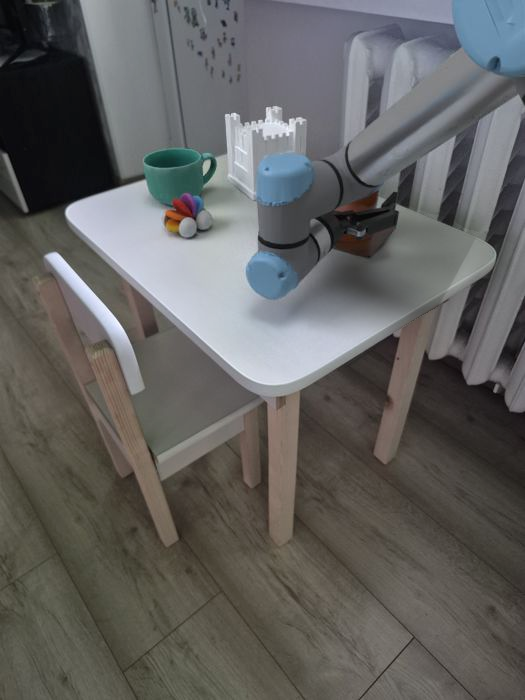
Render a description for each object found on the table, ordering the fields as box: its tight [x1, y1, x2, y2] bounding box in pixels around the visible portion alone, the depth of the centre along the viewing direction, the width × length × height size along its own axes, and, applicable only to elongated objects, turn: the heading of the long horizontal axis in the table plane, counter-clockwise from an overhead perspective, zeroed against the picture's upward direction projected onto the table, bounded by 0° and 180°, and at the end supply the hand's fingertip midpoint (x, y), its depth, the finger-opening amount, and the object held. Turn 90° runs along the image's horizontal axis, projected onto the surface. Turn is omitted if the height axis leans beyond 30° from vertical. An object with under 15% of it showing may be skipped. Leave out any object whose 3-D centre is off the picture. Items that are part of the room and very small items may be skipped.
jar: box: [334, 189, 380, 242], centre depth 91 cm, size 9×9×13 cm
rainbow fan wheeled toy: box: [161, 193, 214, 238], centre depth 96 cm, size 8×10×7 cm
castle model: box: [224, 105, 308, 201], centre depth 111 cm, size 14×14×15 cm
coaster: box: [332, 225, 397, 259], centre depth 96 cm, size 14×14×1 cm
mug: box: [142, 147, 218, 207], centre depth 107 cm, size 17×13×10 cm
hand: (361, 191), depth 93 cm, fingers open, 13 cm apart
